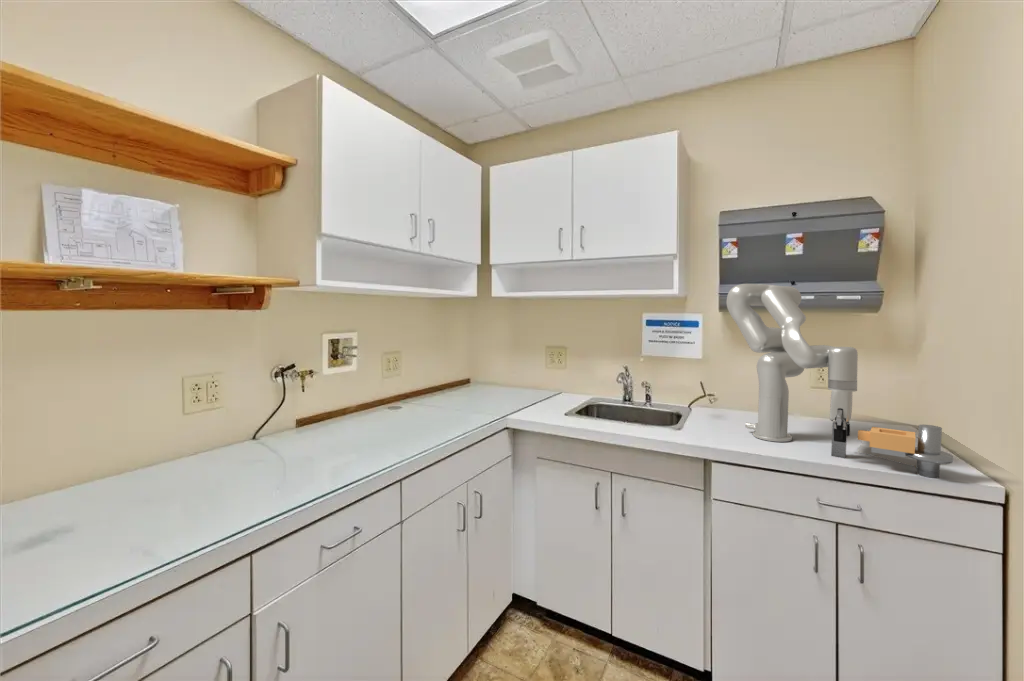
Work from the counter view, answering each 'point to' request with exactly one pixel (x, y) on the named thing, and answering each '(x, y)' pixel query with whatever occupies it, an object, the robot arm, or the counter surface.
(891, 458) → the white curved casing
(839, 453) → the grey rectangular bar
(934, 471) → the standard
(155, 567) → the counter surface
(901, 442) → the bracket
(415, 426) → the counter surface
